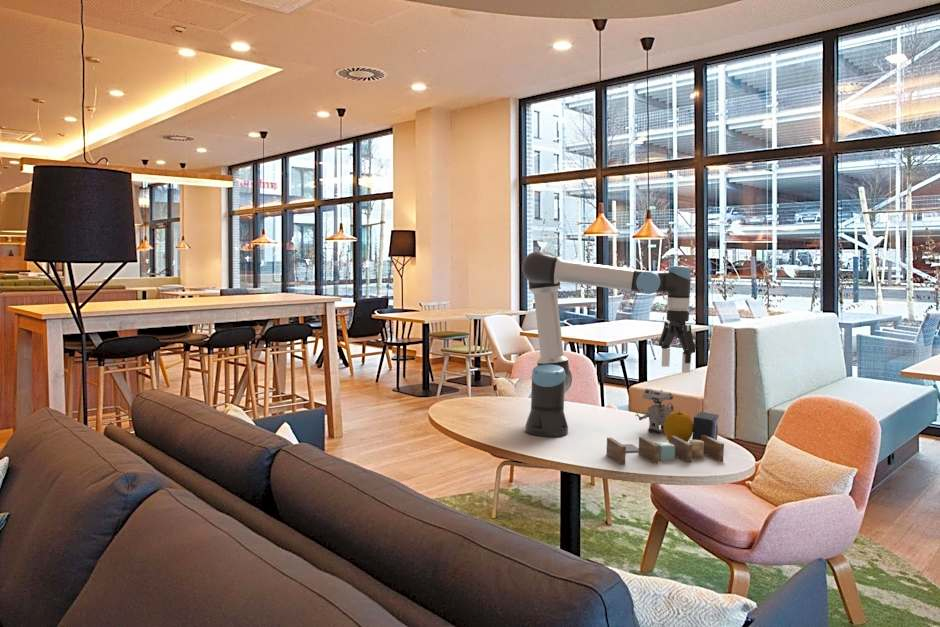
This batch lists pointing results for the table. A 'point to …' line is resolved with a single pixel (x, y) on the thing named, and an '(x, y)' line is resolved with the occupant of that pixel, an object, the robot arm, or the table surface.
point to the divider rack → (652, 449)
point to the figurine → (657, 409)
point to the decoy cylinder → (697, 448)
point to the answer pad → (631, 448)
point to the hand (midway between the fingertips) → (675, 369)
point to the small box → (705, 425)
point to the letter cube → (666, 451)
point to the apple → (678, 426)
